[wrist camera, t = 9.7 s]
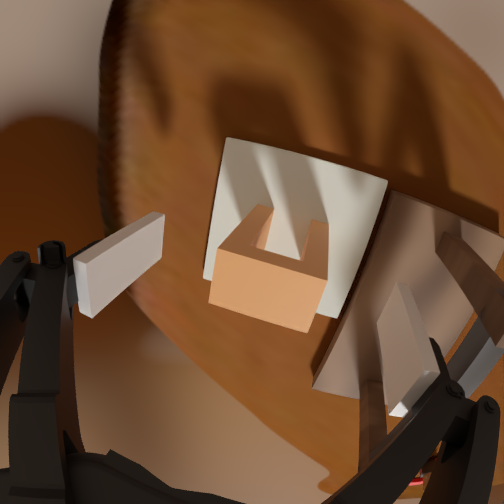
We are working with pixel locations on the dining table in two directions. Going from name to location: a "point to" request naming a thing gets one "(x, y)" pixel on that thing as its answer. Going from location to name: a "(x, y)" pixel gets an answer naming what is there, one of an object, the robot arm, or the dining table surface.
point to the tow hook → (425, 473)
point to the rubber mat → (298, 208)
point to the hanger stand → (428, 303)
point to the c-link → (270, 273)
